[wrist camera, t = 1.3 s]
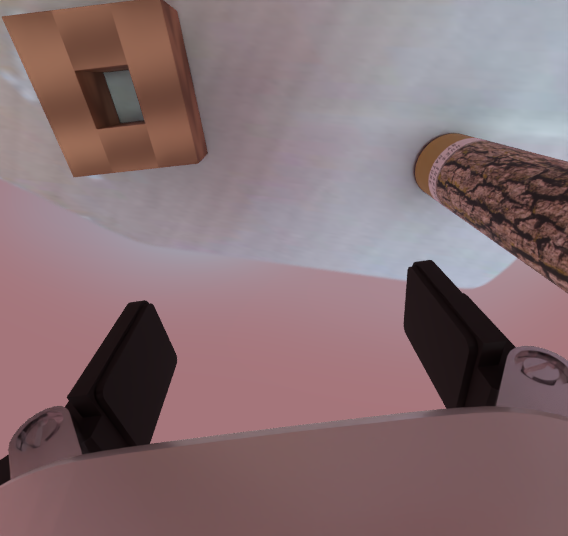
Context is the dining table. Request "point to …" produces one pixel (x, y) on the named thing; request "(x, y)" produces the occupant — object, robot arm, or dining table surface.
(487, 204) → the brown bark cylinder
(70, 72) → the walnut block
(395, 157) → the dining table surface
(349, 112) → the dining table surface
